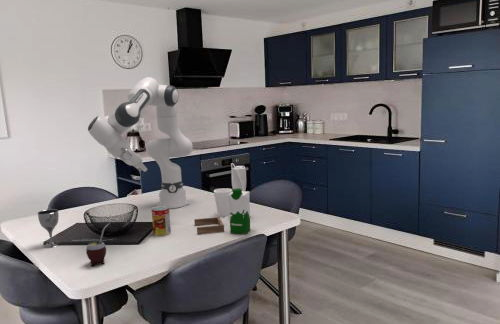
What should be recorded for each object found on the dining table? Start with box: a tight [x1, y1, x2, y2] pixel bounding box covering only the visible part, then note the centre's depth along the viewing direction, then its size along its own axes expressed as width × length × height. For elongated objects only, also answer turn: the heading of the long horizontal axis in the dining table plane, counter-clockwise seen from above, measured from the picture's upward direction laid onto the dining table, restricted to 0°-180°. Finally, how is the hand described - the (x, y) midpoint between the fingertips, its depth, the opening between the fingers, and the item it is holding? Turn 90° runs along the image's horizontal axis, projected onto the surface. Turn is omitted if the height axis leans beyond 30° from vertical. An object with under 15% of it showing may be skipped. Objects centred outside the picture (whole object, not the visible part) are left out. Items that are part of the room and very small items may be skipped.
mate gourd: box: [85, 222, 111, 267], centre depth 159 cm, size 8×8×15 cm
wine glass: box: [37, 208, 59, 249], centre depth 182 cm, size 8×8×15 cm
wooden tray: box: [193, 216, 225, 236], centre depth 198 cm, size 14×12×3 cm
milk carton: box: [228, 188, 251, 235], centre depth 191 cm, size 9×9×20 cm
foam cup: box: [213, 187, 233, 217], centre depth 219 cm, size 10×9×13 cm
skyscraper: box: [230, 163, 247, 191], centre depth 211 cm, size 8×8×28 cm
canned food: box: [151, 205, 172, 237], centre depth 193 cm, size 8×8×12 cm
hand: (143, 170), depth 187 cm, fingers open, 8 cm apart
